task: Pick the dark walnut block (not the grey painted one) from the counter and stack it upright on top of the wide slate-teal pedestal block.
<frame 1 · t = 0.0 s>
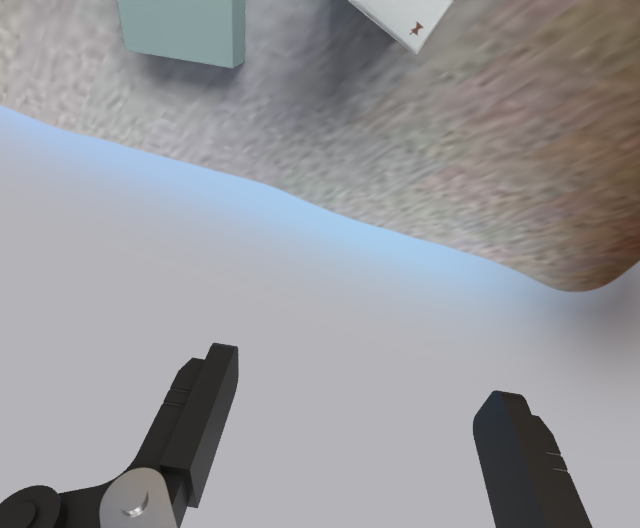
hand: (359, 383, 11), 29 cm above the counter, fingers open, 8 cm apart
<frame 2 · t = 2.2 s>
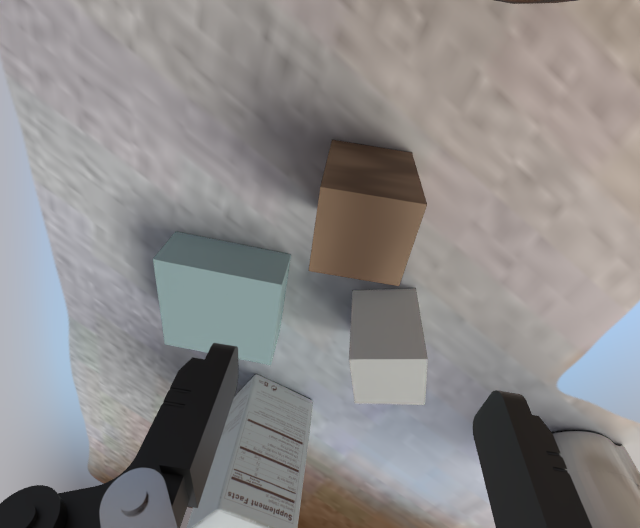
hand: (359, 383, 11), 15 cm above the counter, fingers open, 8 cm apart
supplement box: (270, 399, 40), on the counter
grey block: (384, 311, 30), on the counter
walnut block: (363, 183, 24), on the counter
pedestal block: (233, 284, 31), on the counter
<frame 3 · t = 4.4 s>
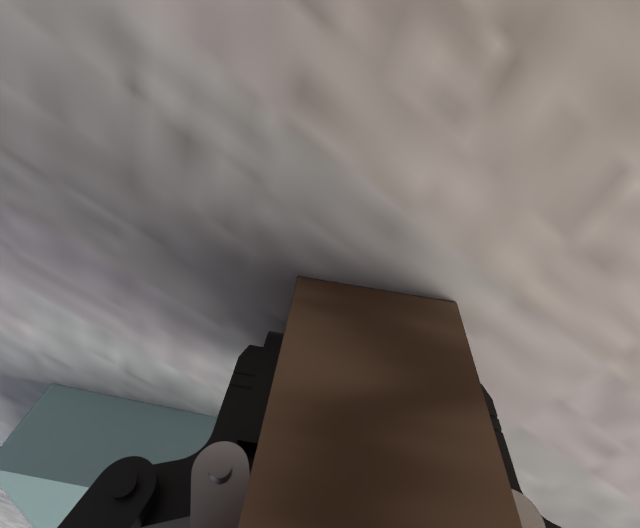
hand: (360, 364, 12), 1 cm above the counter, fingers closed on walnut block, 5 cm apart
walnut block: (361, 342, 13), on the counter, touching gripper
pedestal block: (158, 442, 20), on the counter
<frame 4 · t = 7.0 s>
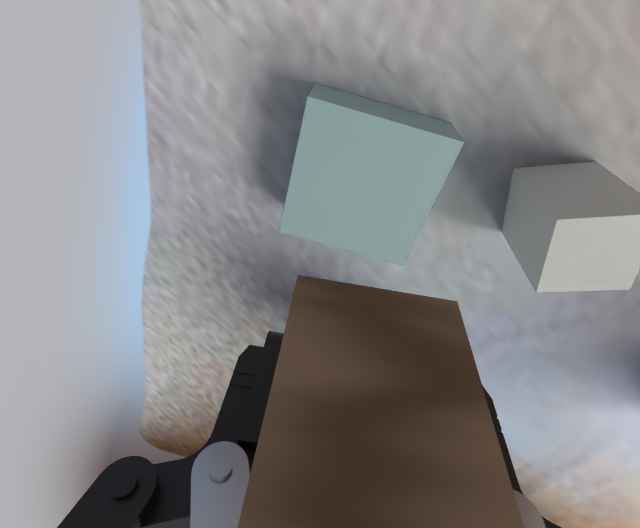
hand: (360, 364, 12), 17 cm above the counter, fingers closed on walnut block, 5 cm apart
grey block: (544, 198, 25), on the counter
walnut block: (361, 341, 13), point 16 cm above the counter, touching gripper
pedestal block: (362, 167, 26), on the counter
when the fingers open (6 cm above the counter, at t = 9.7 s): walnut block drops 1 cm, resting on pedestal block.
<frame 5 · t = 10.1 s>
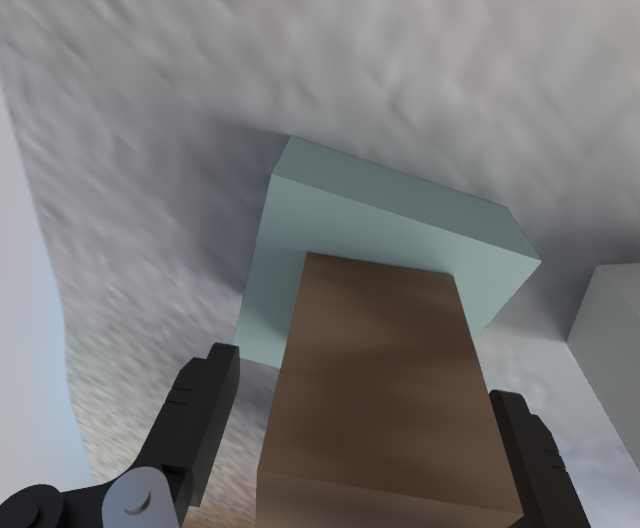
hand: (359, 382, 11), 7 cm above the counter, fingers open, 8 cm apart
grey block: (639, 305, 17), on the counter
walnut block: (365, 314, 14), point 4 cm above the counter, touching pedestal block
pedestal block: (361, 255, 17), on the counter, touching walnut block
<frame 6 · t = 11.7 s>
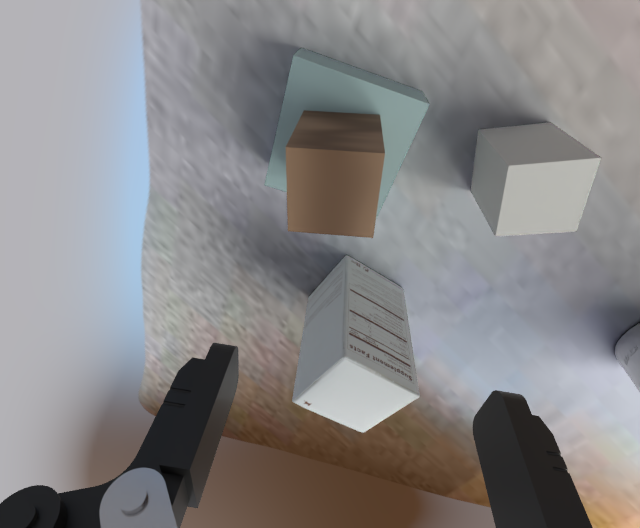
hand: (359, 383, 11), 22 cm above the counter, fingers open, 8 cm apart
supplement box: (355, 290, 38), on the counter
grey block: (507, 158, 28), on the counter
walnut block: (339, 150, 25), point 4 cm above the counter, touching pedestal block
pedestal block: (342, 130, 28), on the counter, touching walnut block
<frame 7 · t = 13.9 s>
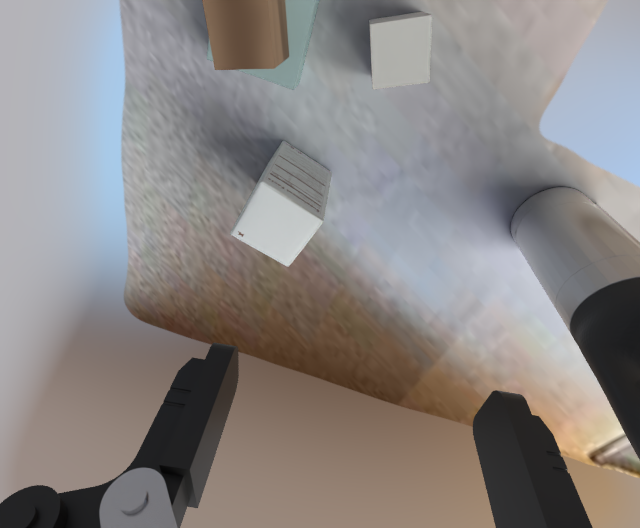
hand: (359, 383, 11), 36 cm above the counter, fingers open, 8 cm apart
supplement box: (294, 177, 46), on the counter
grey block: (395, 45, 37), on the counter
walnut block: (260, 26, 34), point 4 cm above the counter, touching pedestal block
pedestal block: (268, 20, 37), on the counter, touching walnut block
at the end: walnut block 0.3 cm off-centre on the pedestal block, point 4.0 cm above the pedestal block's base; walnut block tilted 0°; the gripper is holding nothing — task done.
